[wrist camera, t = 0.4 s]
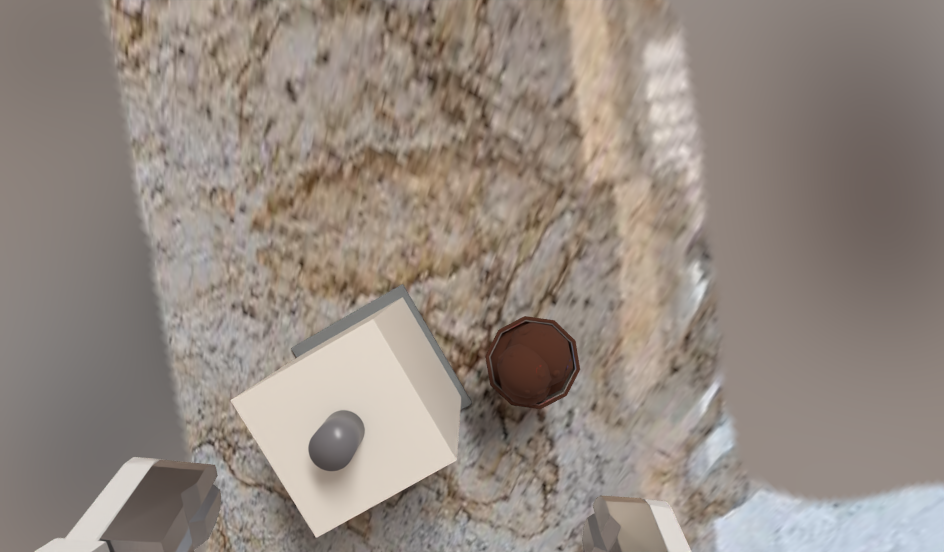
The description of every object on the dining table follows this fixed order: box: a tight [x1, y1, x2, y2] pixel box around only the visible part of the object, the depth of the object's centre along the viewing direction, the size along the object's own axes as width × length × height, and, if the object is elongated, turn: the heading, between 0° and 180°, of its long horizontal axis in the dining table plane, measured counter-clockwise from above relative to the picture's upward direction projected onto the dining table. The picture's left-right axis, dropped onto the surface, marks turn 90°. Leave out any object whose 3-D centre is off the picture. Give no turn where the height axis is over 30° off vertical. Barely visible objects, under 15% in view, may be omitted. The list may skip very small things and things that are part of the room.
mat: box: [291, 284, 472, 410], centre depth 61 cm, size 19×18×1 cm
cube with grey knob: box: [231, 297, 461, 538], centre depth 50 cm, size 16×16×22 cm
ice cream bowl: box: [485, 316, 580, 409], centre depth 53 cm, size 11×11×15 cm
